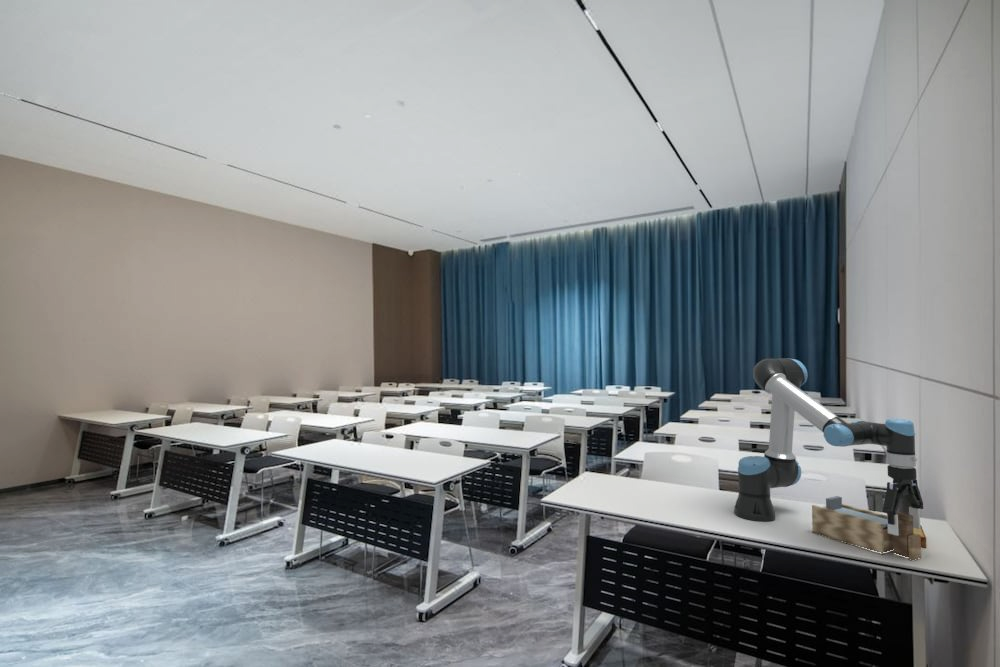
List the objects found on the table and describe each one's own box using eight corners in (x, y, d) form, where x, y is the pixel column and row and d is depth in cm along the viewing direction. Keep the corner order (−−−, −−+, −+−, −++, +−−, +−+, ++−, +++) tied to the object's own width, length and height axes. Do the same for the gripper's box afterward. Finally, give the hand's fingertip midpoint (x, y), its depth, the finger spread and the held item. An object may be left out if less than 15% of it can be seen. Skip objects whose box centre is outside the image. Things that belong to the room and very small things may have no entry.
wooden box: (812, 532, 187) (811, 505, 188) (831, 527, 193) (831, 501, 193) (907, 563, 160) (906, 531, 161) (926, 556, 166) (925, 525, 166)
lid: (817, 510, 187) (817, 497, 187) (832, 507, 191) (831, 494, 191) (881, 528, 168) (880, 513, 169) (895, 524, 172) (895, 509, 173)
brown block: (892, 553, 168) (891, 512, 168) (898, 551, 169) (897, 511, 170) (909, 559, 163) (907, 517, 164) (915, 557, 165) (914, 515, 166)
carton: (896, 544, 177) (895, 532, 177) (893, 531, 190) (892, 519, 190) (927, 549, 172) (926, 536, 172) (921, 535, 185) (921, 523, 185)
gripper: (894, 472, 158) (897, 540, 157) (934, 464, 170) (937, 528, 169) (867, 467, 165) (870, 533, 164) (908, 460, 176) (910, 521, 175)
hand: (904, 531), depth 166 cm, fingers open, 13 cm apart
